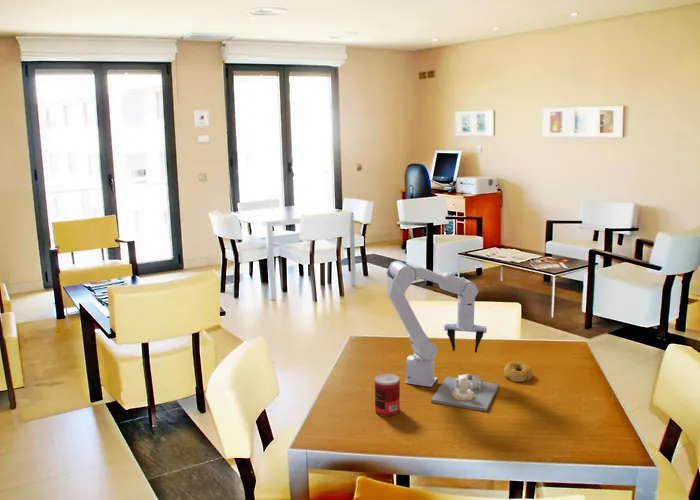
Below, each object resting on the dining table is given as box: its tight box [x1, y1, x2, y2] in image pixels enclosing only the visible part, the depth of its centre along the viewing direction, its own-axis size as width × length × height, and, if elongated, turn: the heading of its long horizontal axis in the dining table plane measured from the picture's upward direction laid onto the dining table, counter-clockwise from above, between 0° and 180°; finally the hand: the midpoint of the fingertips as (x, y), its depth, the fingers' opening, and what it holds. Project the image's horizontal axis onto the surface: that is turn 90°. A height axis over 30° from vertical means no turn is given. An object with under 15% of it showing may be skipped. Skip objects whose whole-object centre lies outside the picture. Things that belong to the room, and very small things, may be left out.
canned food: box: [374, 373, 401, 417], centre depth 202 cm, size 8×8×11 cm
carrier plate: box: [430, 373, 500, 412], centre depth 214 cm, size 18×20×4 cm
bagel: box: [503, 360, 534, 383], centre depth 227 cm, size 10×11×5 cm
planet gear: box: [452, 376, 474, 400], centre depth 210 cm, size 6×6×6 cm
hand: (464, 350), depth 227 cm, fingers open, 7 cm apart
